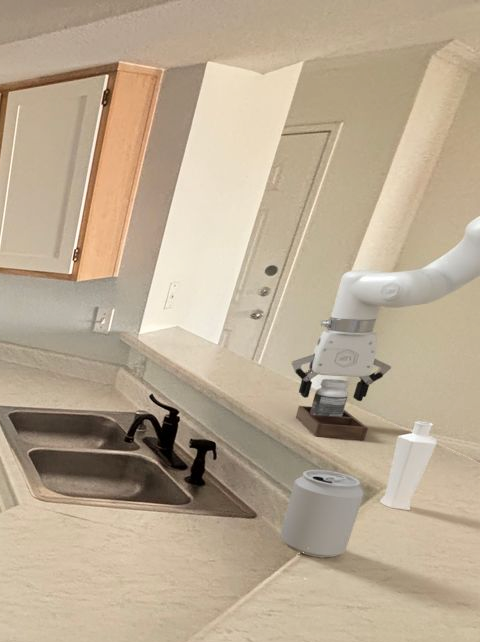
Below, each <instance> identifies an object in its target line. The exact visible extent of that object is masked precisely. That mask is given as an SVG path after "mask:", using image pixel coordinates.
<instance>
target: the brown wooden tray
mask: <svg viewBox="0 0 480 642" xmlns="http://www.w3.org/2000/svg"><path fill="white" fill-rule="evenodd" d="M311 407H312V406H310V405H309V406H308V405H298V407H297V410H296V414H295V418H296V419H297V420H298V421H299V422H300V423H301V424H302V425H303V426H304V427H305V428H306V429H307V430H308V431H309V432H310V433H311V434H312V435H313V436H314V437H319V438H330V439H341V440H352V441H353V440H354V441H365V438H366V435H367V432H368V430H369V427H367V426H366V425H365V424H364V423H362V421H360V420H358V419H357V418H356V417H355V416H353V415H352V414H351V413H349V412H348V411H347V410H345V409H344V411H343V415H342V417H340V416H326V415H313V414H310V411H311Z"/></svg>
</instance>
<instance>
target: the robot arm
mask: <svg viewBox="0 0 480 642" xmlns="http://www.w3.org/2000/svg"><path fill="white" fill-rule="evenodd" d="M479 277H480V215H479V216H477V217H476V218H474V219H472V220H471V221H470V222H468V224H467V225H466V227H465V231H464V235H463V238H462V239H461V240H460V241H459V242H458V243H457V244H456V245H455V246H454V247H453V248H452V249H449V251H448V252H445V253H444V254H443V255H442V256H440V257H438V258H437V259H436V260H434V261H432V262H431V263H428V264H427V265H425V266H424V267H422V268H420V269H419V268H418V269H411V270H403V271H394V272H392V271H391V272H386V271H384V270H377V269H376V270H375V269H372V270H371V269H362V270H361V269H358V270H349V271H346V272H345V273H344V274H343V275H341V278H340V282H339V286H338V289H337V292H336V296H335V300H334V303H333V307H332V311H331V315H330V317H329V318H328V319H325V320H321V321H320V327H324V328H326V330H323V331H322V333H321V334H320V337H319V338H318V340H317V342H316V345H315V347H314V349H313V351H312V354H311V355H308V356H304V357H302V358H297V359H295V360H292V361H291V366H292V368H293V370H294V373H295V374H296V375H297V376H298V377H299V378H300V379H301V381H300V384H299V385H300V386H299V389H298V393H299V394H300V396H301V397H302V398H305V399H306V398H308V397H309V396H310V392H311V388H312V384H313V382H312V379H314V378H315V377H316V376H318V375H320V376H331V377H332V376H333V377H352V378H353V377H354V378H355V377H356V378H359V380H360V381H358V382H357V383H356V387H355V390H354V394H353V396H352V397H353V399H354V400H356V401H357V402H362V401H363V398H366V397H367V393H368V390H369V387H370V385H372V384H373V383H374V382H376V381H378V380H380V379H381V378H383V376H384V375H386V374H387V373H388V372H389V371H391V369H392V366H391V365H389V364H387V363H385V362H383V361H381V360H379V359H377V358H376V353H377V352H376V351H377V344H378V333H376V332H374V328H375V324H376V321H377V318H378V315H379V310H380V308H381V307H385V308H392V309H393V308H395V309H397V308H399V309H400V308H406V307H411V306H412V307H413V306H419V305H426V304H429V303H433V302H436V301H438V300H441V299H442V298H445V297H446V296H448V295H450V294H451V293H453V292H455V291H457V290H458V289H460V288H462V287H464V286H465V285H467V284H469V283H470V282H473V281H474V280H475V279H477V278H479ZM308 363H309V364H308ZM306 364H308V368H309V369H307V371H304V370H303V368H302V365H306ZM374 366H375V367H378V369H377V370H376V371H374V372H373V373H372V370H373V367H374Z"/></svg>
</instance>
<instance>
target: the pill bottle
mask: <svg viewBox="0 0 480 642" xmlns="http://www.w3.org/2000/svg"><path fill="white" fill-rule="evenodd" d="M320 381H321V382H320V388H318V389H316V391H315V393H314V395H313V399H312V400H313V401H312V403H311V406H310V407H311V411H310V414H313V415H326V416H340V417H342V415H343V411H344V410H345V407H346V405H347V401H348V398H349V392H348V391H347V390H346V389H347V388H348V387H349V382H348V381H346V380H344V379H343V380H342V379H337V378H323V379H322V380H320Z"/></svg>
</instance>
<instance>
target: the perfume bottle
mask: <svg viewBox="0 0 480 642" xmlns="http://www.w3.org/2000/svg"><path fill="white" fill-rule="evenodd" d="M413 423H414V426H413V429H412V431H411V433H406V434H401V435H397V439H396V444H395V448H394V454H393V457H392V462H391V466H390V470H389V476H388V480H387V484H386V490H385V493H384V495H383V497H381V499H380V500H379V503H380V504H382V505H384V506H386V507H387V508H390V509H395V510H397V509H398V510H405V511H406V510H407V511H410V510H411V500H412V498H413V496H414V494H415V491H416V489H417V487H418V486H419V483H420V481H421V478H422V476H423V475H424V472H425V470H426V467H427V465H428V463H429V461H430V459H431V457H432V454H433V453H434V451H435V449H436V446H437V444H438V440H437V438H435V437H433V436H431V435H429V434H430V431H431V428H432V426H434V423H432V422H428V421H423V420H422V421H421V420H420V421H413Z"/></svg>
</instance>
